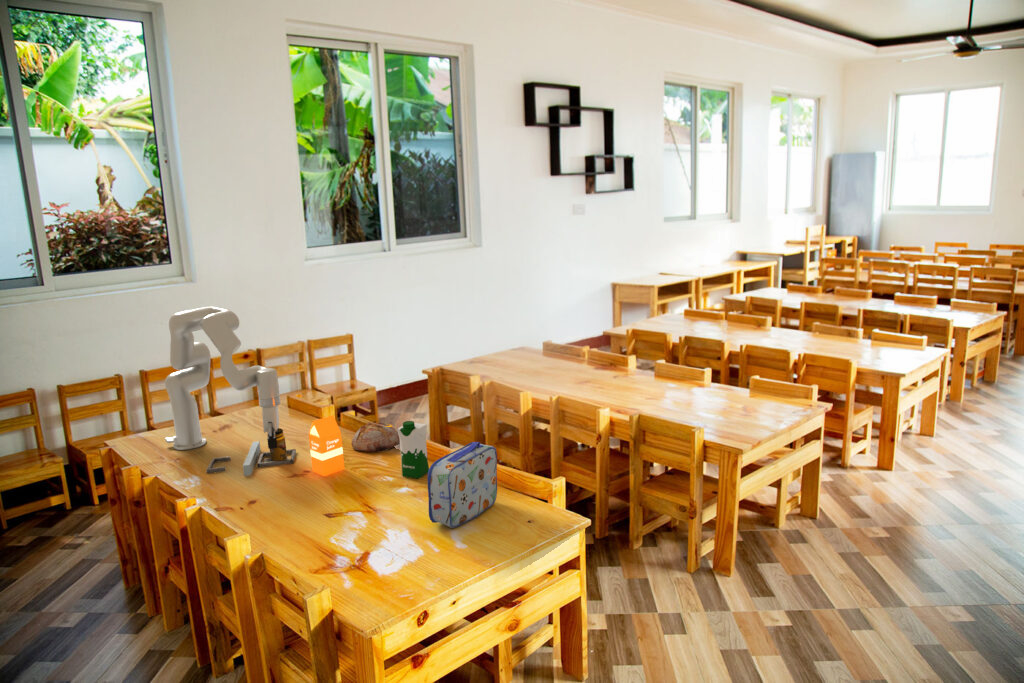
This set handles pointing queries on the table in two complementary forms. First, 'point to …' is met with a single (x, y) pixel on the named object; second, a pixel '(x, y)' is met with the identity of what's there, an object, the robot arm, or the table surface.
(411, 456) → the milk carton
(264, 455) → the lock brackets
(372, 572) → the table surface
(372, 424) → the bread
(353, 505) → the table surface
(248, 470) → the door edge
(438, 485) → the lunch box
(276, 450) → the condiment
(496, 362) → the table surface
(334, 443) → the orange juice
